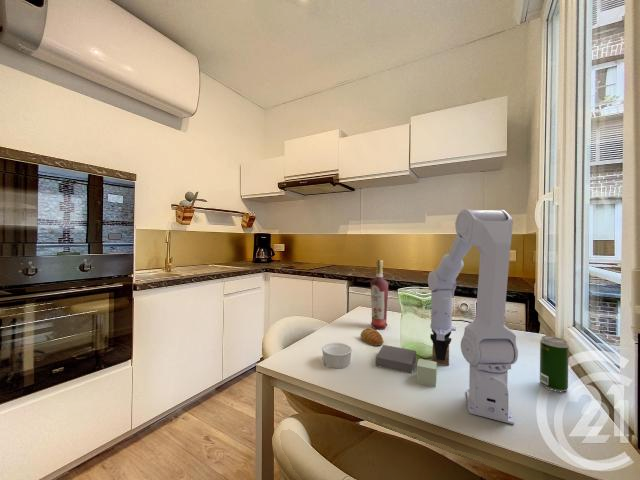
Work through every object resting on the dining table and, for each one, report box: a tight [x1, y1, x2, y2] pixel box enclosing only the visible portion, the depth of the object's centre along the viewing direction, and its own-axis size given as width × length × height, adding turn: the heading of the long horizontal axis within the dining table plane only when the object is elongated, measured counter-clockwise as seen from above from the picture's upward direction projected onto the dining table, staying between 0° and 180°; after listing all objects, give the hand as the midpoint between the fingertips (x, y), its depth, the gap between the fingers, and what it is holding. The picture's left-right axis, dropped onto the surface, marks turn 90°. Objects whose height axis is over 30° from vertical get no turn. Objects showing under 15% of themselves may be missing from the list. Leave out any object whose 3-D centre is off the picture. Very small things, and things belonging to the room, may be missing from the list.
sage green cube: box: [416, 358, 438, 388], centre depth 70 cm, size 4×4×4 cm
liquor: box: [370, 259, 389, 330], centre depth 112 cm, size 7×7×28 cm
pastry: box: [360, 327, 384, 347], centre depth 96 cm, size 9×7×4 cm
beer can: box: [539, 335, 570, 393], centre depth 68 cm, size 5×5×12 cm
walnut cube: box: [431, 343, 450, 366], centre depth 82 cm, size 4×4×4 cm
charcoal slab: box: [375, 344, 417, 374], centre depth 80 cm, size 10×10×3 cm
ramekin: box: [321, 342, 353, 369], centre depth 80 cm, size 9×9×4 cm
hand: (440, 356), depth 82 cm, fingers closed on walnut cube, 4 cm apart
